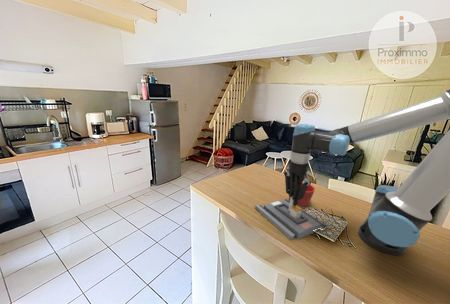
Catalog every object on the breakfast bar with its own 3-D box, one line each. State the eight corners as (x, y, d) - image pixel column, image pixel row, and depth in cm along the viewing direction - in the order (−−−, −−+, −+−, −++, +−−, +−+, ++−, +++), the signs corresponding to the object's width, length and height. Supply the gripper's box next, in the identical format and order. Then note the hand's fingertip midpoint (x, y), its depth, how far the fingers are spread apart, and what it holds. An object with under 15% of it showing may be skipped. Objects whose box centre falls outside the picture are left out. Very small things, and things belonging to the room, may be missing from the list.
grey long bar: (296, 237, 75) (297, 234, 74) (290, 240, 74) (291, 236, 73) (259, 206, 95) (259, 203, 95) (254, 208, 94) (255, 205, 93)
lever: (300, 217, 83) (301, 208, 81) (294, 219, 81) (296, 210, 80) (294, 213, 85) (296, 205, 84) (289, 215, 84) (290, 206, 82)
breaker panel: (319, 229, 80) (321, 222, 79) (298, 239, 74) (299, 231, 73) (282, 204, 99) (283, 197, 97) (263, 210, 93) (264, 203, 92)
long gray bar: (325, 229, 80) (326, 225, 80) (321, 231, 79) (322, 227, 79) (285, 202, 101) (285, 199, 100) (281, 203, 99) (281, 200, 99)
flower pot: (314, 209, 95) (317, 192, 92) (291, 206, 97) (294, 189, 94) (309, 199, 105) (312, 183, 102) (289, 196, 107) (291, 181, 104)
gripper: (318, 165, 74) (309, 215, 81) (293, 155, 85) (287, 201, 92) (305, 167, 71) (297, 220, 77) (281, 157, 82) (275, 204, 88)
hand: (291, 210), depth 84 cm, fingers closed
